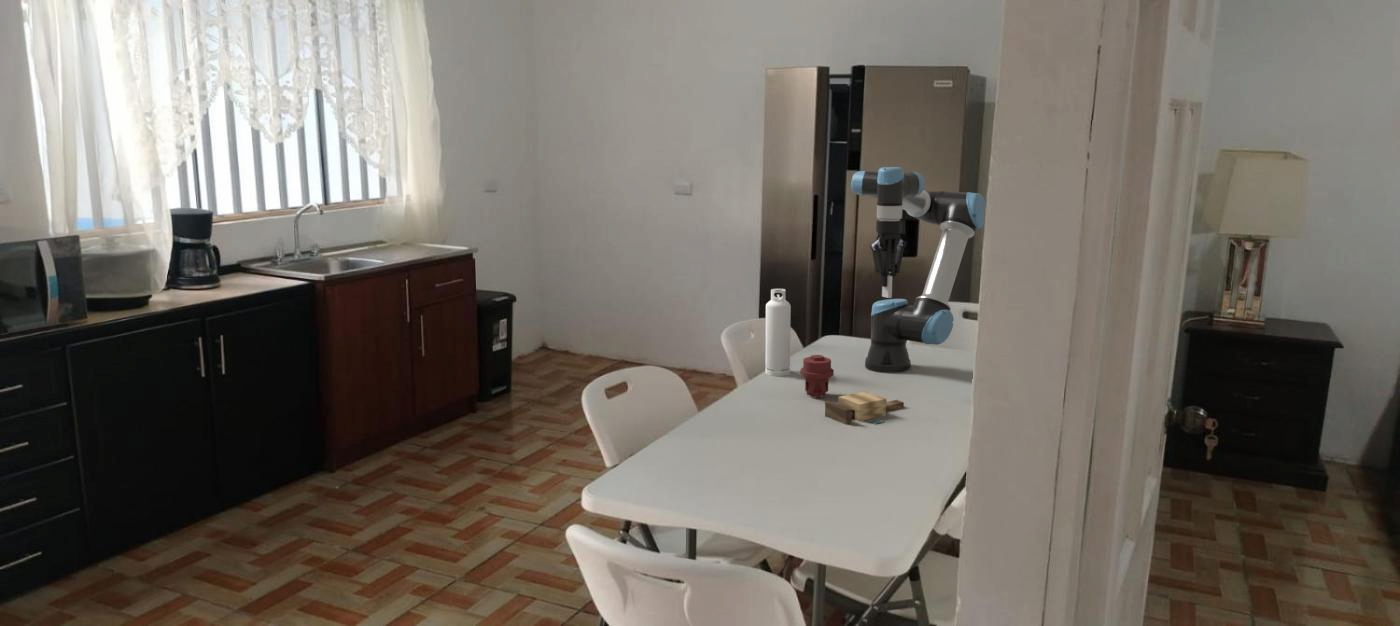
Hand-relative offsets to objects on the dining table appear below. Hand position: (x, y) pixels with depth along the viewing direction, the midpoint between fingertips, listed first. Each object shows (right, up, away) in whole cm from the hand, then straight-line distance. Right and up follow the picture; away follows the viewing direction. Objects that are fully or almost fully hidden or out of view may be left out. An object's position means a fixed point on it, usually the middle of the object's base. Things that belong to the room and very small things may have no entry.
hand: (886, 296), depth 295 cm
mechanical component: (-21, -30, +1) cm, 37 cm away
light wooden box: (-11, -34, -18) cm, 40 cm away
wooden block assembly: (-8, -34, -17) cm, 38 cm away
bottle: (-31, -25, +27) cm, 48 cm away
